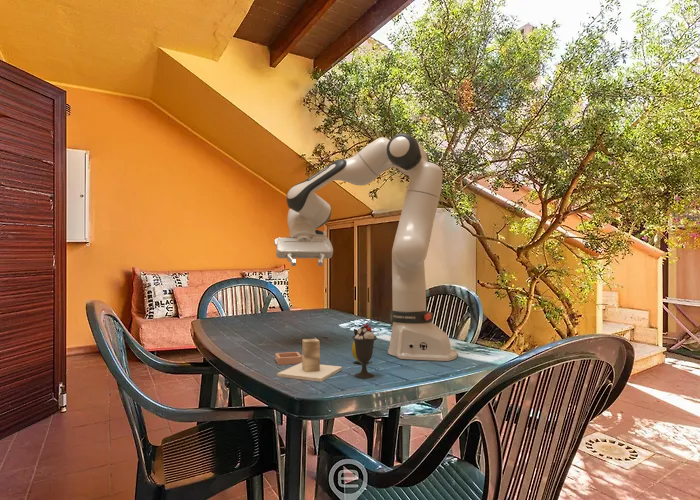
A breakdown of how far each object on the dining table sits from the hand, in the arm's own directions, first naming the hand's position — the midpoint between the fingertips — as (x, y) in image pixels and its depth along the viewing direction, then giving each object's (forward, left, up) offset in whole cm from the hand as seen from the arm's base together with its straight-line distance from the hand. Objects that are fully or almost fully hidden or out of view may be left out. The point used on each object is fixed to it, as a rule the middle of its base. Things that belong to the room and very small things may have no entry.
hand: (307, 264), depth 142 cm
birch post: (-15, +25, -29) cm, 41 cm away
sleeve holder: (-3, +17, -29) cm, 34 cm away
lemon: (-24, +10, -30) cm, 39 cm away
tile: (-15, +26, -29) cm, 42 cm away
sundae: (-30, +23, -30) cm, 47 cm away
